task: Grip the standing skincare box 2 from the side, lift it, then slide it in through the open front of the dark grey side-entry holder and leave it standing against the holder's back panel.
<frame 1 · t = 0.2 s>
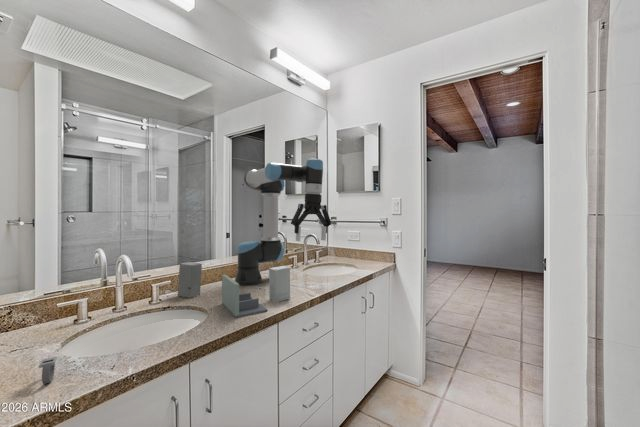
hand: (311, 240, 128), 27 cm above the counter, tool pointing down, fingers open, 13 cm apart
skincare box 2: (279, 299, 130), on the counter
holder: (245, 307, 119), on the counter
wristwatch: (48, 382, 67), on the counter
skincare box: (190, 296, 136), on the counter
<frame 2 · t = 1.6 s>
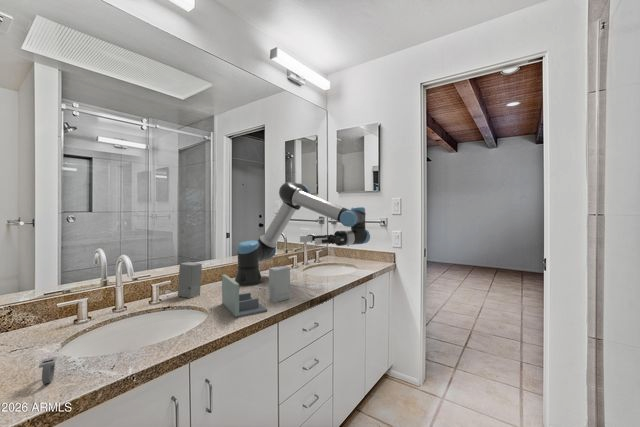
hand: (307, 240, 131), 27 cm above the counter, tool horizontal, fingers open, 13 cm apart
nothing on the counter moved.
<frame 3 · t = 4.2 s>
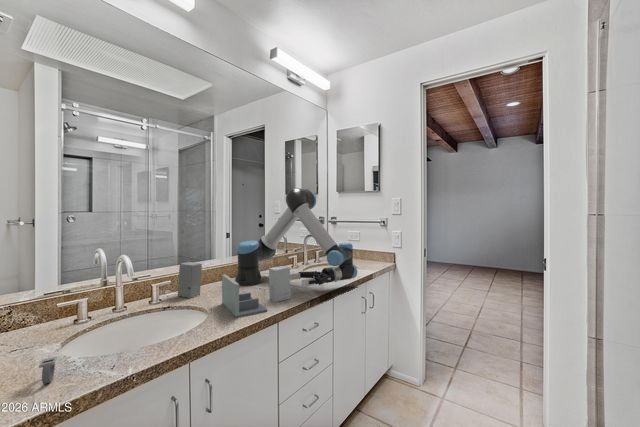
hand: (294, 280, 134), 8 cm above the counter, tool horizontal, fingers open, 13 cm apart
nothing on the counter moved.
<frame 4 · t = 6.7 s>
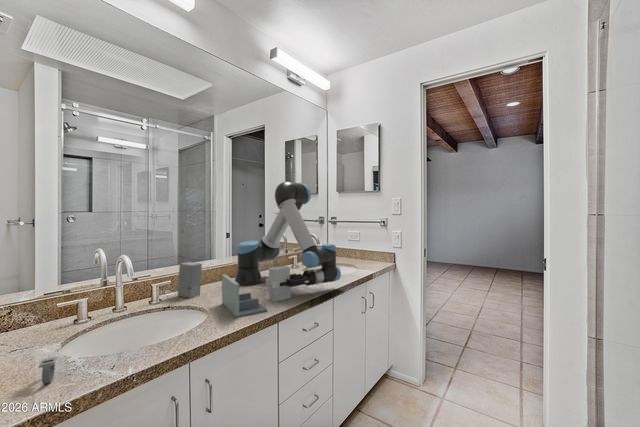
hand: (269, 283, 127), 8 cm above the counter, tool horizontal, fingers closed on skincare box 2, 6 cm apart
skincare box 2: (279, 299, 130), on the counter, touching gripper
everything else where it was.
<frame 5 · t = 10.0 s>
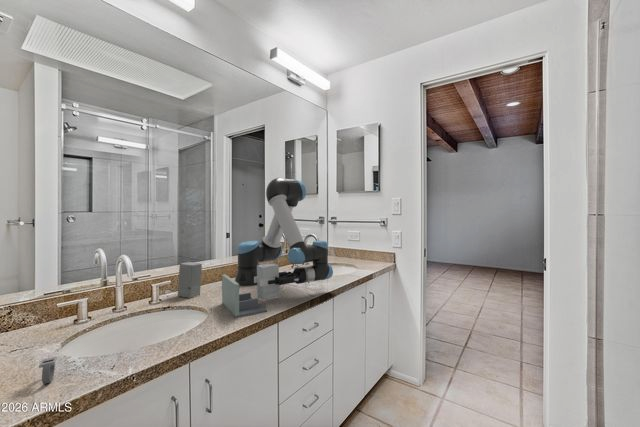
hand: (257, 281, 122), 10 cm above the counter, tool horizontal, fingers closed on skincare box 2, 6 cm apart
skincare box 2: (268, 298, 125), point 2 cm above the counter, touching gripper
everything else where it was.
when the fingers open (10 cm above the counter, at t = 13.3 s): skincare box 2 stays where it is, resting on holder.
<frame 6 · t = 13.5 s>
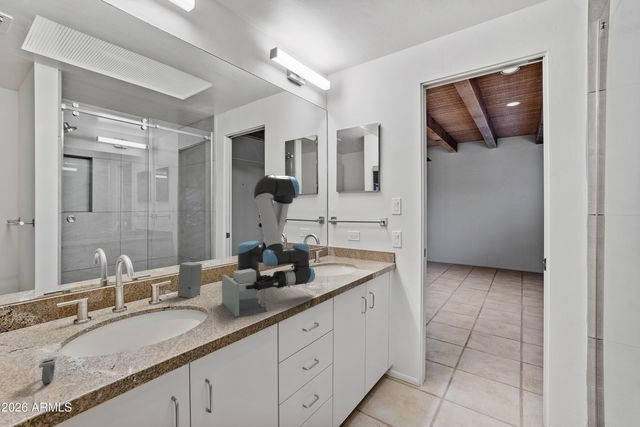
hand: (234, 285, 117), 10 cm above the counter, tool horizontal, fingers open, 9 cm apart
skincare box 2: (245, 305, 119), point 1 cm above the counter, touching holder
everything else where it was.
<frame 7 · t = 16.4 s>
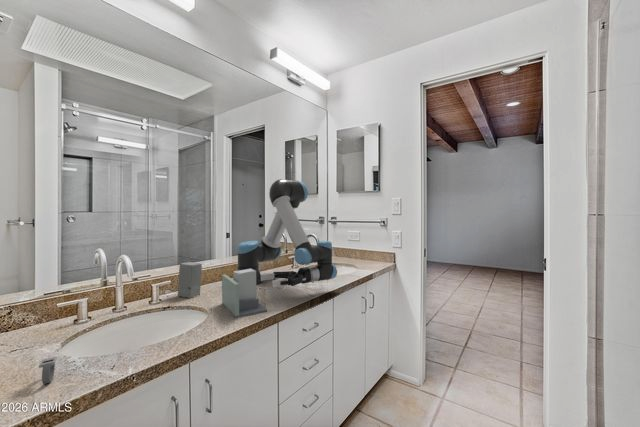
hand: (266, 280, 125), 10 cm above the counter, tool horizontal, fingers open, 13 cm apart
nothing on the counter moved.
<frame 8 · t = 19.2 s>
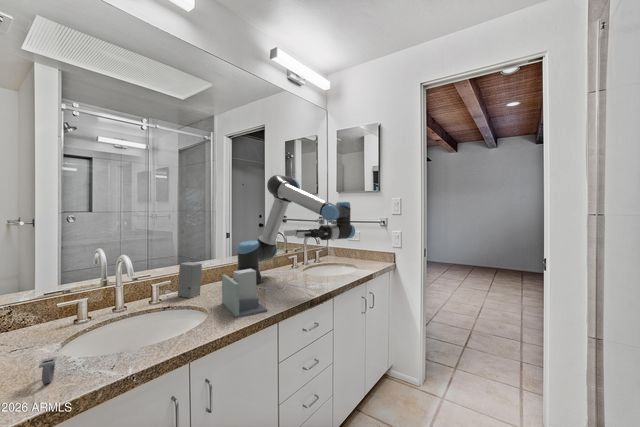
hand: (290, 234, 131), 30 cm above the counter, tool horizontal, fingers open, 13 cm apart
nothing on the counter moved.
at the end: skincare box 2 0.2 cm off-centre on the holder, point 0.6 cm above the holder's base; skincare box 2 tilted 0°; the gripper is holding nothing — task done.
